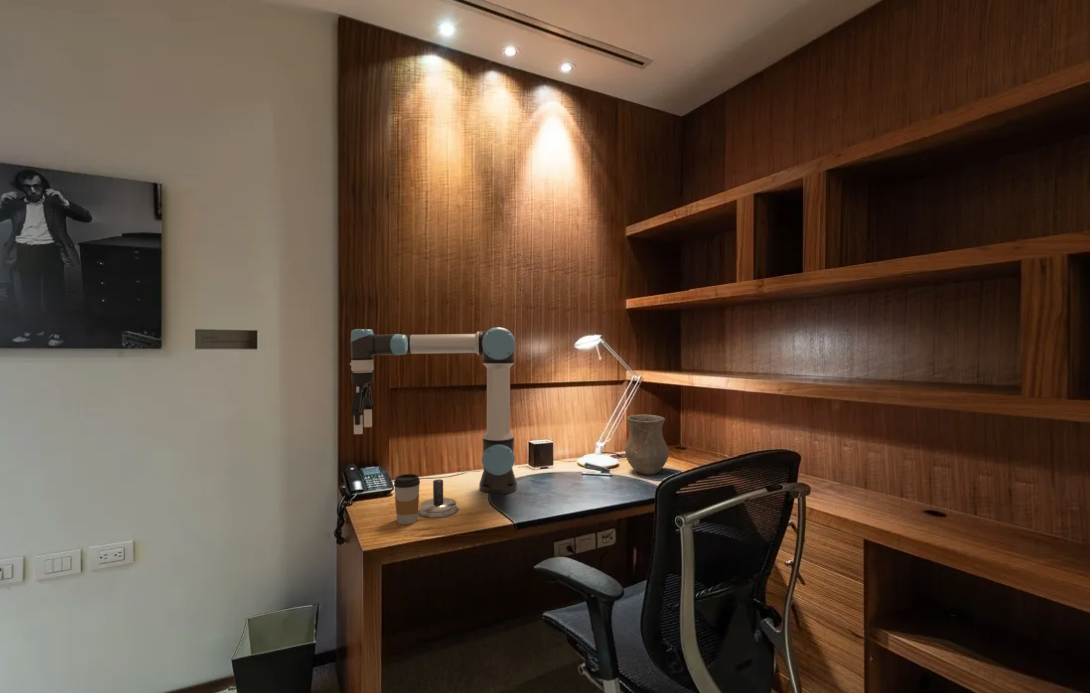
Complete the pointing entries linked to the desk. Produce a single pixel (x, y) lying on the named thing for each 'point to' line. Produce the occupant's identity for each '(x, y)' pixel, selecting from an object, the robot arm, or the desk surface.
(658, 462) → the vase
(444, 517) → the disc
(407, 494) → the coffee cup
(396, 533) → the desk surface
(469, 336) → the robot arm
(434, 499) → the lid
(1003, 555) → the desk surface
